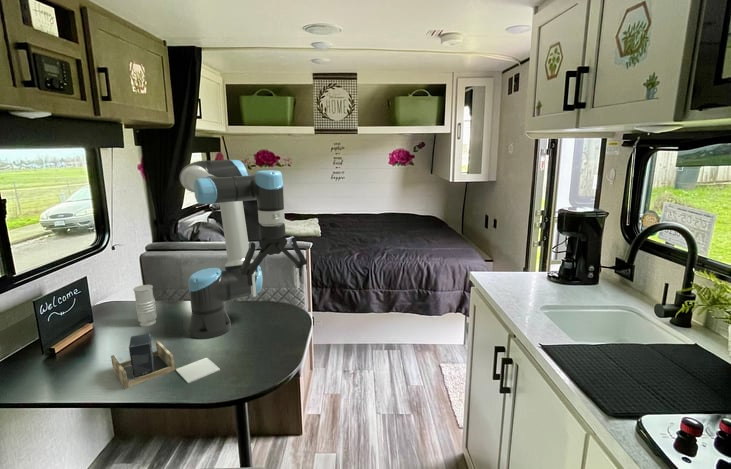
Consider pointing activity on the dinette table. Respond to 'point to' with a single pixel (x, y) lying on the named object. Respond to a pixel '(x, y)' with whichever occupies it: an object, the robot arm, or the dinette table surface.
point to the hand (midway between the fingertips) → (276, 291)
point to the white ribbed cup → (145, 305)
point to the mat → (197, 370)
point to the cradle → (122, 376)
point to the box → (141, 355)
